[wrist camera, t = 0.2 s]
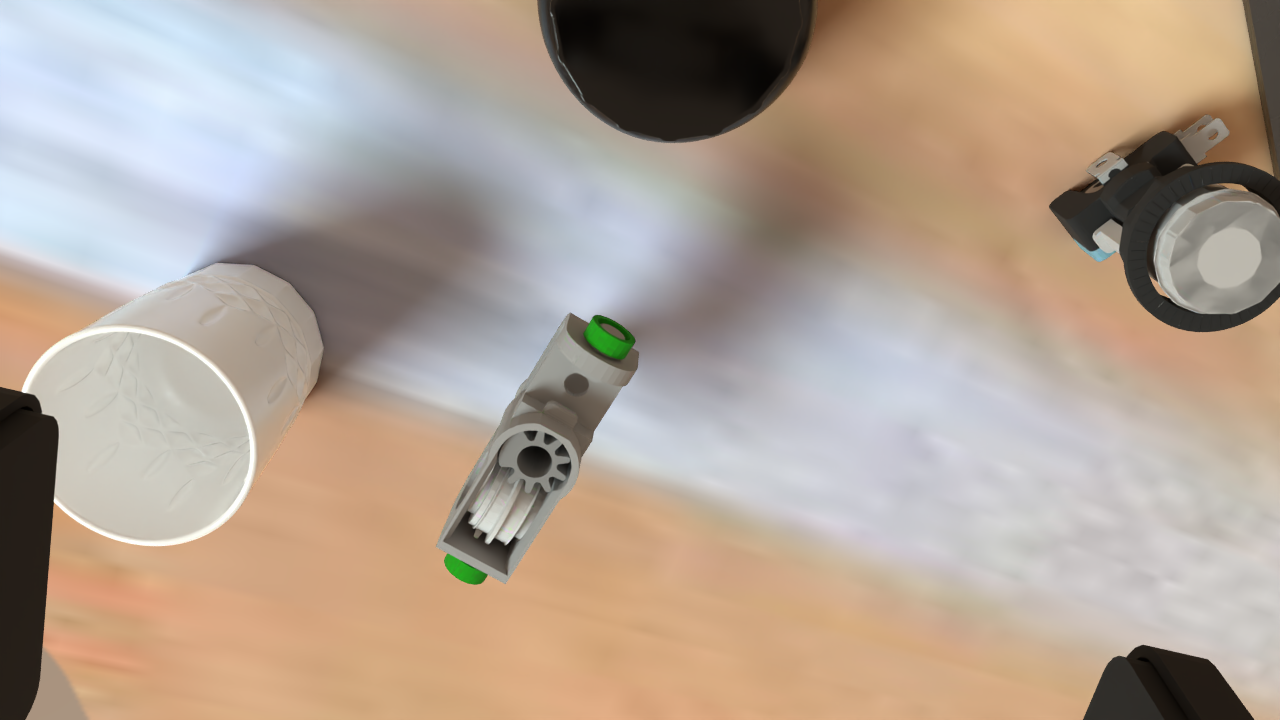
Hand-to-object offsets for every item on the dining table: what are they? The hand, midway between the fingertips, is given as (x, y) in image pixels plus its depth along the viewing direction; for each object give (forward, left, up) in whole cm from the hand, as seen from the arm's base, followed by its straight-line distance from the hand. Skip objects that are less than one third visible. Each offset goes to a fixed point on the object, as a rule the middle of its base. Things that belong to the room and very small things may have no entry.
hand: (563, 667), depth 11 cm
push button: (+9, +16, -37) cm, 41 cm away
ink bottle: (-3, +2, -37) cm, 37 cm away
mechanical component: (+9, -7, -37) cm, 39 cm away
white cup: (+4, -19, -37) cm, 42 cm away
